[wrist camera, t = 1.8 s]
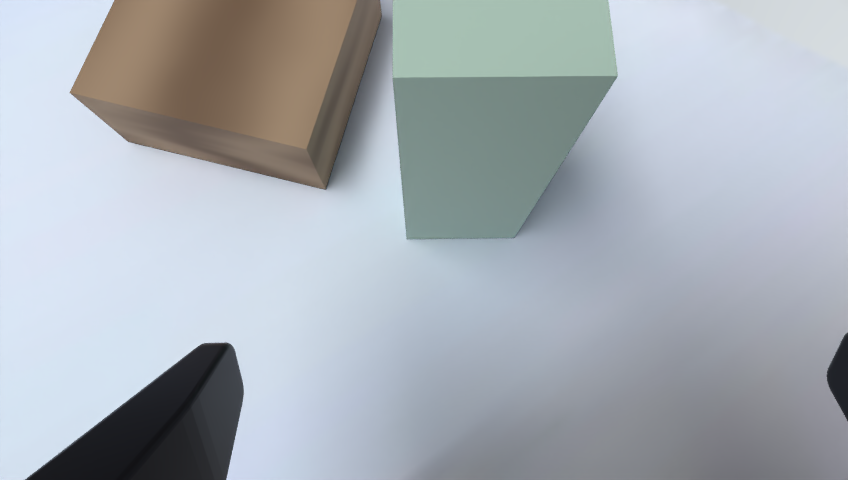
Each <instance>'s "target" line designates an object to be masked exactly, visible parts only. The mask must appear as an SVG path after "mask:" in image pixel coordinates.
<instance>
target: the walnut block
mask: <svg viewBox="0 0 848 480" xmlns="http://www.w3.org/2000/svg"><path fill="white" fill-rule="evenodd" d="M381 16H382V15H381V5H380V0H114V2H113V5H112V7H111V9H110V11H109V13H108V15H107V17H106V19H105V21H104V23H103V25H102V27H101V29H100V31H99V33H98V35H97V38H96V40H95V42H94V44H93V46H92V48H91V50H90V52H89V54H88V56H87V58H86V60H85V62H84V64H83V66H82V68H81V70H80V73H79V75H78V77H77V79H76V81H75V83H74V85H73V87H72V89H71V91H70V93H71V94H72V95H73V96H74V97H75V98H77V99H78V100H79V101H80V102H81V103H83V104H84V105H85V106H86V107H87V108H89V109H90V110H91V111H92V112H93V113H95V114H96V115H97V116H98V117H99V118H100V119H102V120H103V121H104V122H105V123H106V124H108V125H109V126H110V127H111V128H112V129H114V130H115V131H116V132H117V133H118V134H120V135H121V136H122V137H123V138H124V139H126V140H127V141H128V142H132V143H136V144H140V145H144V146H148V147H153V148H157V149H161V150H165V151H169V152H173V153H177V154H181V155H185V156H190V157H194V158H198V159H202V160H206V161H210V162H214V163H218V164H222V165H226V166H231V167H235V168H239V169H243V170H247V171H251V172H255V173H259V174H263V175H268V176H272V177H276V178H280V179H284V180H288V181H292V182H296V183H300V184H305V185H309V186H313V187H317V188H321V189H325V190H326V187H327V184H328V180H329V177H330V174H331V171H332V168H333V165H334V162H335V159H336V156H337V153H338V149H339V146H340V143H341V140H342V137H343V134H344V131H345V128H346V125H347V122H348V118H349V115H350V112H351V109H352V106H353V103H354V100H355V97H356V94H357V91H358V87H359V84H360V81H361V78H362V75H363V72H364V69H365V66H366V63H367V60H368V56H369V53H370V50H371V47H372V44H373V41H374V38H375V35H376V32H377V29H378V25H379V22H380V19H381Z"/></svg>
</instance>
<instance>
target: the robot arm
mask: <svg viewBox="0 0 848 480" xmlns="http://www.w3.org/2000/svg"><path fill="white" fill-rule="evenodd" d="M827 382H828V385H829V387H830V390H831V391H832V393H833V395H834V397H835V399H836V401H837V402H838V404H839V406H840V408H841V410H842V411H843V413H844V415H845V417H846V419H847V421H848V333H846V334H845V336H844V337H843V339H842V341H841V343H840V345H839V347H838V349H837V352H836V354H835V356H834V358H833V360H832V362H831V364H830V366H829V368H828V371H827ZM243 395H244V388H243V381H242V377H241V373H240V369H239V365H238V361H237V357H236V353H235V350H234V348H233V346H232V345H231V344H229V343H205V344H201V345H200V346H198V347H197V348H195V349H194V350H193V351H191V352H190V353H189V354H187V355H186V356H185V357H184V358H182V359H181V360H180V361H178V362H177V363H176V364H175V365H173V366H172V367H171V368H169V369H168V370H167V371H165V372H164V373H163V374H162V375H160V376H159V377H158V378H156V379H155V380H154V381H152V382H151V383H150V384H149V385H147V386H146V387H145V388H143V389H142V390H141V391H139V392H138V393H137V394H136V395H134V396H133V397H132V398H130V399H129V400H128V401H127V402H125V403H124V404H123V405H121V406H120V407H119V408H117V409H116V410H115V411H114V412H112V413H111V414H110V415H108V416H107V417H106V418H104V419H103V420H102V421H101V422H99V423H98V424H97V425H95V426H94V427H93V428H91V429H90V430H89V431H88V432H86V433H85V434H84V435H82V436H81V437H80V438H78V439H77V440H76V441H75V442H73V443H72V444H71V445H69V446H68V447H67V448H66V449H64V450H63V451H62V452H60V453H59V454H58V455H56V456H55V457H54V458H53V459H51V460H50V461H49V462H47V463H46V464H45V465H43V466H42V467H41V468H40V469H38V470H37V471H36V472H34V473H33V474H32V475H30V476H29V477H28V478H27V479H25V480H226V478H227V474H228V469H229V464H230V459H231V455H232V450H233V445H234V440H235V436H236V431H237V426H238V421H239V417H240V412H241V407H242V402H243Z"/></svg>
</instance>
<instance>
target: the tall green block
mask: <svg viewBox="0 0 848 480" xmlns="http://www.w3.org/2000/svg"><path fill="white" fill-rule="evenodd" d="M617 76H618V74H617V66H616V58H615V50H614V42H613V34H612V26H611V18H610V10H609V3H608V0H393V87H394V99H395V110H396V122H397V133H398V145H399V157H400V168H401V180H402V191H403V203H404V214H405V226H406V237H407V239H460V238H515V236H516V234H517V233H518V231H519V230H520V228H521V227H522V225H523V223H524V222H525V220H526V219H527V217H528V216H529V214H530V212H531V211H532V209H533V208H534V206H535V205H536V203H537V202H538V200H539V198H540V197H541V195H542V194H543V192H544V191H545V189H546V187H547V186H548V184H549V183H550V181H551V180H552V178H553V176H554V175H555V173H556V172H557V170H558V169H559V167H560V166H561V164H562V162H563V161H564V159H565V158H566V156H567V155H568V153H569V151H570V150H571V148H572V147H573V145H574V144H575V142H576V140H577V139H578V137H579V136H580V134H581V133H582V131H583V130H584V128H585V126H586V125H587V123H588V122H589V120H590V119H591V117H592V115H593V114H594V112H595V111H596V109H597V108H598V106H599V104H600V103H601V101H602V100H603V98H604V97H605V95H606V94H607V92H608V90H609V89H610V87H611V86H612V84H613V83H614V81H615V79H616V78H617Z"/></svg>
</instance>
